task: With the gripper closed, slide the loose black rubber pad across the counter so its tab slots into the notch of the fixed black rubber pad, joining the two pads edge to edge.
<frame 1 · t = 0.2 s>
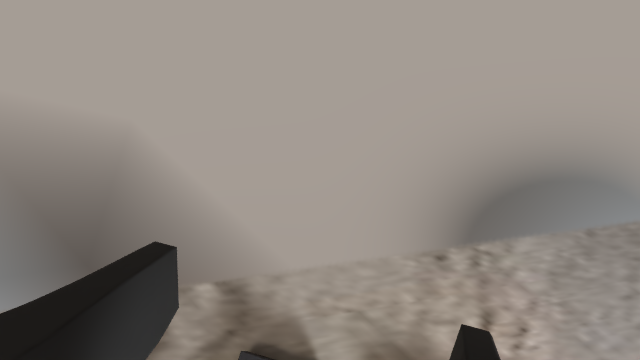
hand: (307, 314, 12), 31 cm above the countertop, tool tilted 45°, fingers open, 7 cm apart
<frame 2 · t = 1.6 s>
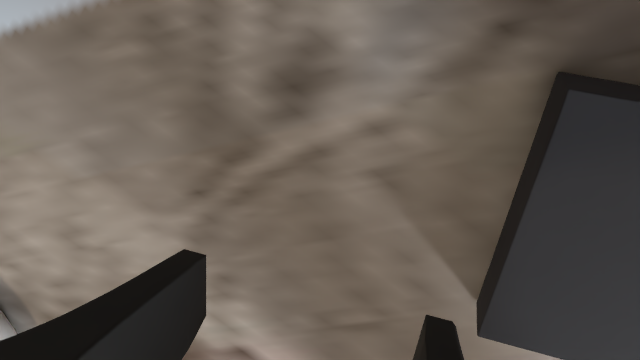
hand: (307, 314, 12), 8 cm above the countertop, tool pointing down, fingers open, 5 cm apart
tab pad: (611, 224, 18), on the countertop
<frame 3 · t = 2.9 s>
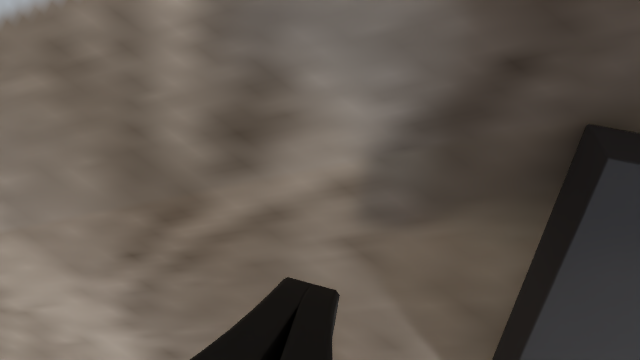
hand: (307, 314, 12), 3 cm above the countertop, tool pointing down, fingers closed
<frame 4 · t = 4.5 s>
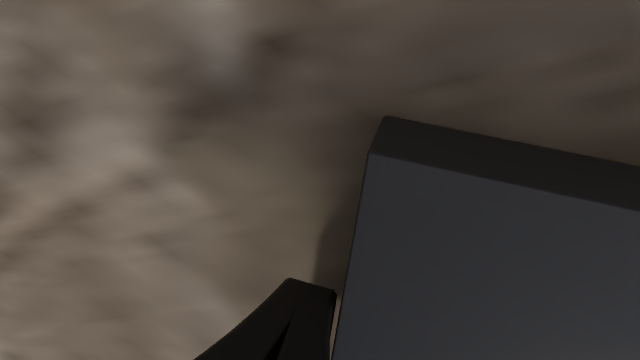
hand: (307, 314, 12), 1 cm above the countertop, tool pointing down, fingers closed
tab pad: (486, 328, 12), on the countertop, touching gripper
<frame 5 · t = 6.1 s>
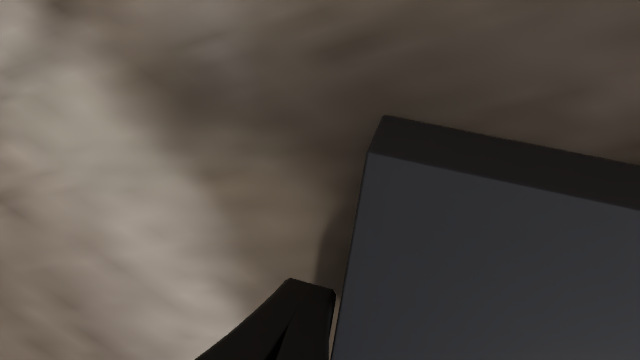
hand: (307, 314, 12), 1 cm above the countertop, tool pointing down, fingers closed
tab pad: (485, 327, 12), on the countertop, touching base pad, gripper
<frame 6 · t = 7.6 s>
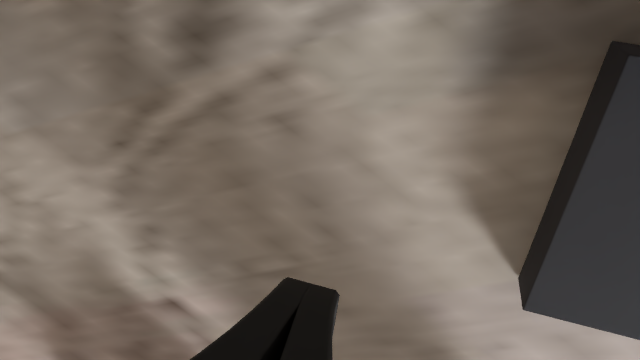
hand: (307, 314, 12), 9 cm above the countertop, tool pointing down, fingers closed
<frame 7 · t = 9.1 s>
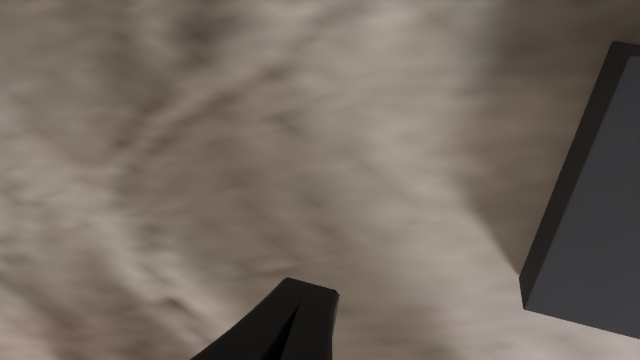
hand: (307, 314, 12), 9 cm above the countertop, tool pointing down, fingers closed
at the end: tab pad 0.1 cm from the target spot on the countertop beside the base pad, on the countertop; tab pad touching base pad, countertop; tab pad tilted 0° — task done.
